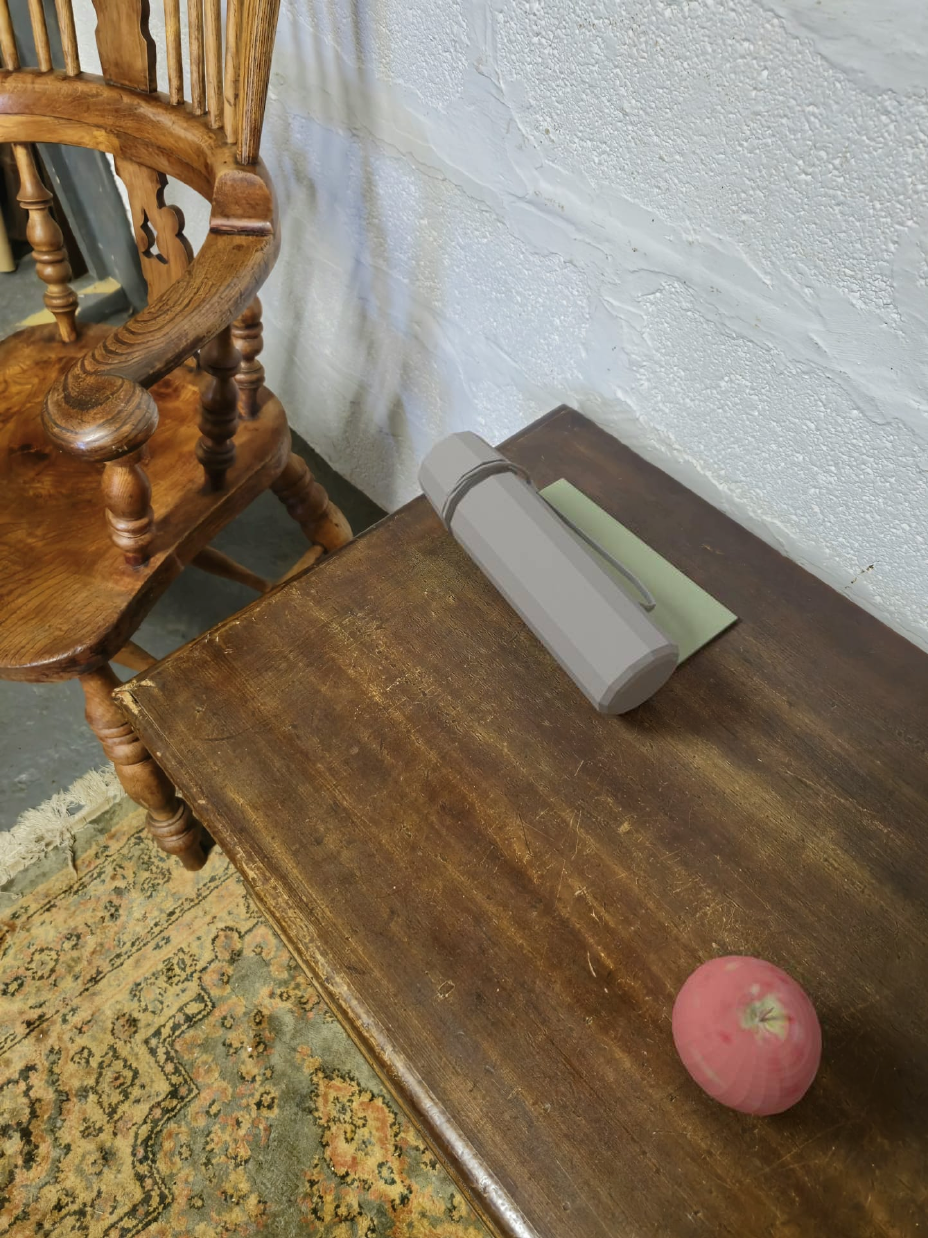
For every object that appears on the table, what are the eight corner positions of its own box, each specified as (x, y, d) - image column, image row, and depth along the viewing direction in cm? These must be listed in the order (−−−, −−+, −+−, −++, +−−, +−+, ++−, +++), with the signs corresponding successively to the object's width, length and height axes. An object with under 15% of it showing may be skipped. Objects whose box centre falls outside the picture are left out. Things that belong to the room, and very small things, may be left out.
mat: (736, 620, 67) (738, 617, 67) (632, 700, 62) (633, 697, 62) (562, 480, 76) (562, 477, 76) (459, 540, 71) (459, 537, 71)
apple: (687, 954, 51) (725, 909, 45) (805, 1024, 49) (863, 988, 43) (636, 1070, 47) (670, 1039, 41) (762, 1152, 45) (818, 1133, 39)
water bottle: (616, 680, 54) (412, 444, 65) (593, 738, 60) (411, 513, 72) (720, 620, 57) (509, 405, 69) (688, 680, 64) (500, 474, 75)
